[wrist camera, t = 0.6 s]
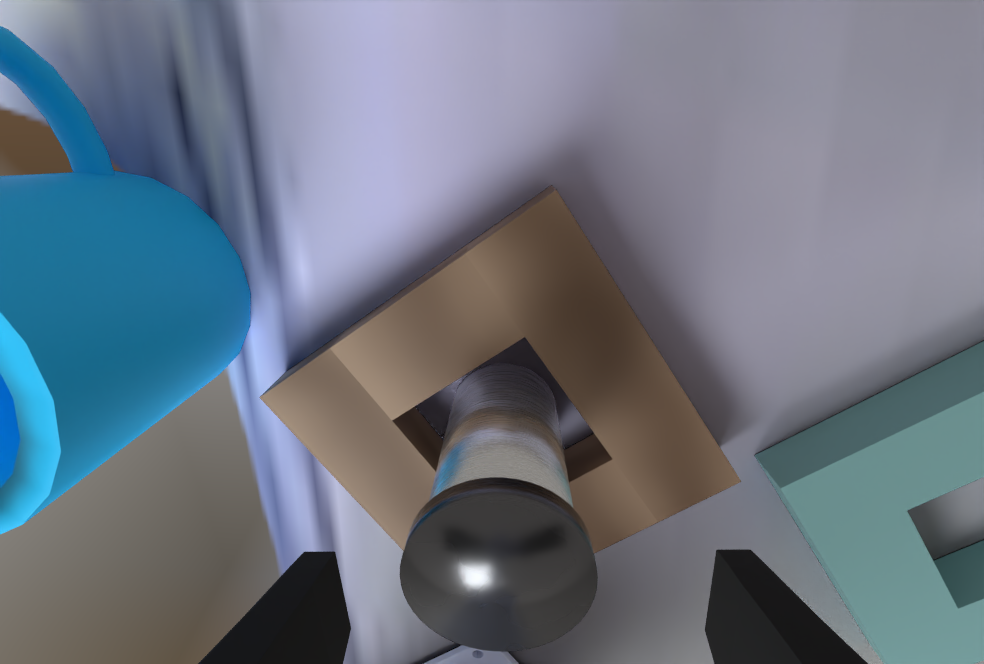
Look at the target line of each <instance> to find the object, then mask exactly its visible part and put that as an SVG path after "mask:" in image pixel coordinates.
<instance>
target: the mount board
mask: <svg viewBox="0 0 984 664" xmlns="http://www.w3.org/2000/svg"><path fill="white" fill-rule="evenodd" d="M524 337H525V338H526V339H527V341H528V342H529V343H530V345H531V346H532V347H533V349H534V350H535V352H536V353H537V354H538V356H539V357H540V359H541V360H542V361H543V363H544V364H545V366H546V367H547V368H548V370H549V371H550V373H551V374H552V375H553V377H554V378H555V379H556V381H557V382H558V384H559V385H560V386H561V388H562V389H563V391H564V392H565V393H566V395H567V396H568V398H569V399H570V400H571V402H572V403H573V404H574V406H575V407H576V409H577V410H578V411H579V413H580V414H581V416H582V417H583V418H584V420H585V421H586V423H587V424H588V425H589V427H590V428H591V430H592V431H593V432H594V434H593V435H591V436H589V437H587V438H586V439H584V440H582V441H580V442H578V443H576V444H575V445H573V446H571V447H569V448H567V449H566V450H564V456H565V462H566V468H567V474H568V480H569V486H570V492H571V498H572V504H573V508H574V509H575V511H576V512H577V513H578V514H579V516H580V517H581V519H582V520H583V522H584V523H585V525H586V527H587V530H588V532H589V535H590V539H591V543H592V548H593V553H596V552H598V551H600V550H602V549H605V548H607V547H609V546H611V545H613V544H615V543H617V542H619V541H621V540H623V539H625V538H627V537H629V536H631V535H633V534H635V533H637V532H639V531H641V530H643V529H645V528H647V527H649V526H652V525H654V524H656V523H658V522H660V521H662V520H664V519H666V518H668V517H670V516H672V515H674V514H676V513H678V512H680V511H682V510H684V509H686V508H688V507H690V506H692V505H694V504H697V503H699V502H701V501H703V500H705V499H707V498H709V497H711V496H713V495H715V494H717V493H719V492H721V491H723V490H725V489H727V488H729V487H731V486H733V485H735V484H737V483H739V482H741V480H740V479H739V477H738V476H737V474H736V472H735V471H734V469H733V468H732V466H731V465H730V463H729V461H728V460H727V458H726V457H725V455H724V454H723V452H722V450H721V449H720V447H719V446H718V444H717V442H716V441H715V439H714V438H713V436H712V435H711V433H710V431H709V430H708V428H707V427H706V425H705V424H704V422H703V420H702V419H701V417H700V416H699V414H698V413H697V411H696V409H695V408H694V406H693V405H692V403H691V401H690V400H689V398H688V397H687V395H686V394H685V392H684V390H683V389H682V387H681V386H680V384H679V383H678V381H677V379H676V378H675V376H674V375H673V373H672V371H671V370H670V368H669V367H668V365H667V364H666V362H665V360H664V359H663V357H662V356H661V354H660V353H659V351H658V349H657V348H656V346H655V345H654V343H653V341H652V340H651V338H650V337H649V335H648V334H647V332H646V330H645V329H644V327H643V326H642V324H641V323H640V321H639V319H638V318H637V316H636V315H635V313H634V312H633V310H632V308H631V307H630V305H629V304H628V302H627V300H626V299H625V297H624V296H623V294H622V293H621V291H620V289H619V288H618V286H617V285H616V283H615V282H614V280H613V278H612V277H611V275H610V274H609V272H608V270H607V269H606V267H605V266H604V264H603V263H602V261H601V259H600V258H599V256H598V255H597V253H596V252H595V250H594V248H593V247H592V245H591V244H590V242H589V240H588V239H587V237H586V236H585V234H584V233H583V231H582V229H581V228H580V226H579V225H578V223H577V222H576V220H575V218H574V217H573V215H572V214H571V212H570V211H569V209H568V207H567V206H566V204H565V203H564V201H563V199H562V198H561V196H560V195H559V193H558V192H557V190H556V189H555V188H554V187H553V186H552V185H551V186H549V187H548V188H547V189H545V190H544V191H542V192H541V193H540V194H538V195H537V196H535V197H534V198H532V199H531V200H530V201H528V202H527V203H525V204H524V205H522V206H521V207H520V208H518V209H517V210H515V211H514V212H513V213H511V214H510V215H508V216H507V217H505V218H504V219H503V220H501V221H500V222H498V223H497V224H495V225H494V226H493V227H491V228H490V229H488V230H487V231H486V232H484V233H483V234H481V235H480V236H478V237H477V238H476V239H474V240H473V241H471V242H470V243H468V244H467V245H466V246H464V247H463V248H461V249H460V250H459V251H457V252H456V253H454V254H453V255H451V256H450V257H449V258H447V259H446V260H444V261H443V262H441V263H440V264H439V265H437V266H436V267H434V268H433V269H432V270H430V271H429V272H427V273H426V274H424V275H423V276H422V277H420V278H419V279H417V280H416V281H414V282H413V283H412V284H410V285H409V286H407V287H406V288H405V289H403V290H402V291H400V292H399V293H397V294H396V295H395V296H393V297H392V298H390V299H389V300H387V301H386V302H385V303H383V304H382V305H380V306H379V307H378V308H376V309H375V310H373V311H372V312H370V313H369V314H368V315H366V316H365V317H363V318H362V319H360V320H359V321H358V322H356V323H355V324H353V325H352V326H351V327H349V328H348V329H346V330H345V331H343V332H342V333H341V334H339V335H338V336H336V337H335V338H333V339H332V340H331V341H329V342H328V343H326V344H325V345H324V346H322V347H321V348H319V349H318V350H316V351H315V352H314V353H312V354H311V355H309V356H308V357H307V358H305V359H304V360H302V361H301V362H299V363H298V364H297V365H295V366H294V367H292V368H291V369H289V370H288V371H287V372H285V373H284V374H283V375H282V376H281V377H280V378H279V379H278V380H277V381H276V382H275V383H274V384H273V385H272V386H271V387H270V388H269V389H268V390H267V391H266V392H265V393H264V394H263V395H262V396H260V397H259V398H260V399H261V400H262V401H263V402H264V403H265V404H266V405H267V406H268V407H269V408H270V409H271V410H272V411H273V413H274V414H275V415H276V416H277V417H278V418H279V419H280V420H281V421H282V422H283V423H284V424H285V425H286V426H287V427H288V428H289V430H290V431H291V432H292V433H293V434H294V435H295V436H296V437H297V438H298V439H299V440H300V441H301V442H302V443H303V444H304V446H305V447H306V448H307V449H308V450H309V451H310V452H311V453H312V454H313V455H314V456H315V457H316V458H317V459H318V460H319V461H320V463H321V464H322V465H323V466H324V467H325V468H326V469H327V470H328V471H329V472H330V473H331V474H332V475H333V476H334V477H335V479H336V480H337V481H338V482H339V483H340V484H341V485H342V486H343V487H344V488H345V489H346V490H347V491H348V492H349V493H350V494H351V496H352V497H353V498H354V499H355V500H356V501H357V502H358V503H359V504H360V505H361V506H362V507H363V508H364V509H365V510H366V512H367V513H368V514H369V515H370V516H371V517H372V518H373V519H374V520H375V521H376V522H377V523H378V524H379V525H380V526H381V527H382V529H383V530H384V531H385V532H386V533H387V534H388V535H389V536H390V537H391V538H392V539H393V540H394V541H395V542H396V543H397V545H398V546H399V547H400V548H401V549H402V550H403V551H404V548H405V545H406V541H407V537H408V534H409V530H410V528H411V525H412V523H413V521H414V519H415V517H416V516H417V514H418V512H419V511H420V510H421V509H422V508H423V507H424V505H425V504H426V503H427V502H429V499H430V495H431V491H432V487H433V482H434V478H435V474H436V470H437V466H438V462H439V457H440V453H441V449H442V445H443V440H442V439H441V437H440V436H439V435H438V434H437V433H436V431H435V430H434V429H433V428H432V427H431V425H430V424H429V423H428V422H427V421H426V419H425V418H424V417H423V416H422V415H421V413H420V412H419V411H418V410H417V409H416V407H415V406H416V405H418V404H419V403H421V402H422V401H424V400H426V399H427V398H429V397H430V396H432V395H434V394H435V393H437V392H438V391H440V390H442V389H443V388H445V387H446V386H448V385H449V384H451V383H453V382H454V381H456V380H457V379H459V378H461V377H462V376H464V375H465V374H467V373H469V372H470V371H472V370H473V369H475V368H476V367H478V366H480V365H481V364H483V363H484V362H486V361H488V360H489V359H491V358H492V357H494V356H496V355H497V354H499V353H500V352H502V351H503V350H505V349H507V348H508V347H510V346H511V345H513V344H515V343H516V342H518V341H519V340H521V339H523V338H524Z"/></svg>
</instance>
